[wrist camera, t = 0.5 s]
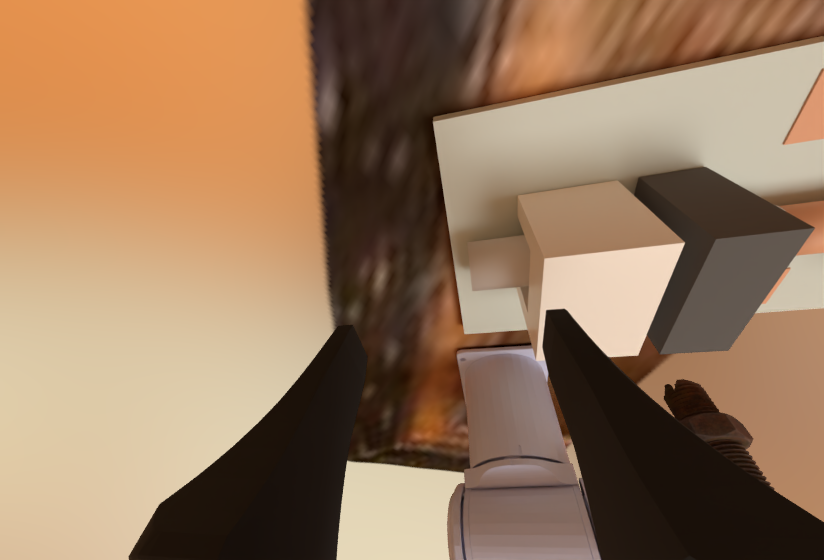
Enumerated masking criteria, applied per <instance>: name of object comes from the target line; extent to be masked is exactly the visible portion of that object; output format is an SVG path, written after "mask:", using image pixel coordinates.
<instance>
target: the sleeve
mask: <svg viewBox="0 0 824 560" xmlns="http://www.w3.org/2000/svg"><path fill="white" fill-rule="evenodd" d="M517 217H518V219H519V222H520V225H521V227H522V230H523V232H524V235H525V238H526V240H527V243H528V246H529V248H530V272H529V286H523V287H517V288H516V289H517V293H518V296H519V300H520V304H521V307H522V311H523V315H524V318H525V322H526V326H527V329H528V333H529V337H530V340H531V344H532V348H533V351H534V355H535V359H536V361H545V357H544V353H543V348H542V344H543V335H544V325H545V316H546V310H552V309H566V310H567V311H568V312H569V313H570V314H571V316H572V317H573V318H574V319H575V320H576V322H577V323H578V324H579V325H580V326H581V328H582V329H583V330H584V331H585V332H586V333H587V335H588V336H589V337H590V338H591V339H592V340H593V341H594V342H595V344H596V345H597V346H598V347H599V348H600V349H601V350H602V351H603V352H604V353H605V354H606V355H607V356H608V357H618V356H636V355H638V354H639V352H640V349H641V347H642V344H643V342H644V340H645V337H646V335H647V333H648V330H649V328H650V325H651V323H652V321H653V318H654V316H655V313H656V311H657V309H658V306H659V304H660V302H661V299H662V297H663V294H664V292H665V290H666V287H667V285H668V282H669V280H670V278H671V275H672V273H673V271H674V268H675V266H676V263H677V261H678V259H679V256H680V254H681V251H682V249H683V247H684V244H685V242H684V241H683V240H682V239H681V238H680V237H678V236H677V235H676V234H675V233H674V232H673V231H672V230H671V229H670V228H669V227H668V226H667V225H665V224H664V223H663V222H662V221H661V220H660V219H659V218H658V217H657V216H656V215H655V214H654V213H652V212H651V211H650V210H649V209H648V208H647V207H646V206H645V205H644V204H643V203H642V202H640V201H639V200H638V199H637V198H636V197H635V196H634V195H633V194H632V193H631V192H630V191H629V190H627V189H626V188H625V187H624V186H623V185H622V184H621V183H620V182H619V181H618V180H616V181H609V182H602V183H596V184H589V185H583V186H576V187H569V188H563V189H556V190H550V191H543V192H537V193H530V194H523V195H518V203H517Z"/></svg>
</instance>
